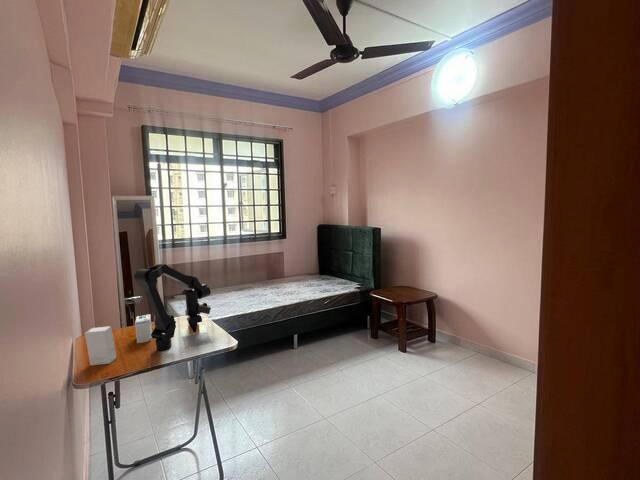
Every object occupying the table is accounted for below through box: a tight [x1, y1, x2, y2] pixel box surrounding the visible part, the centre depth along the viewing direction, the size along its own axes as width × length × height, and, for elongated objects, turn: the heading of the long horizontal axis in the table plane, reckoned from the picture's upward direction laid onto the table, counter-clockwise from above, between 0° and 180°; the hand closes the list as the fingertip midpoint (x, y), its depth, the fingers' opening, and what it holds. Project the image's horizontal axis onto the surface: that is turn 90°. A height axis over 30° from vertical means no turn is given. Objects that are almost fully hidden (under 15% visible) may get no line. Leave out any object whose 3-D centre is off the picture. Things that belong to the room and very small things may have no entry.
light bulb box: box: [134, 313, 153, 344], centre depth 171 cm, size 11×7×11 cm, turn 25°
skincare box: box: [84, 325, 117, 366], centre depth 145 cm, size 8×6×15 cm
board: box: [180, 324, 213, 349], centre depth 168 cm, size 28×12×1 cm, turn 26°
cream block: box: [186, 321, 200, 334], centre depth 176 cm, size 4×5×9 cm
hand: (194, 332), depth 170 cm, fingers closed
